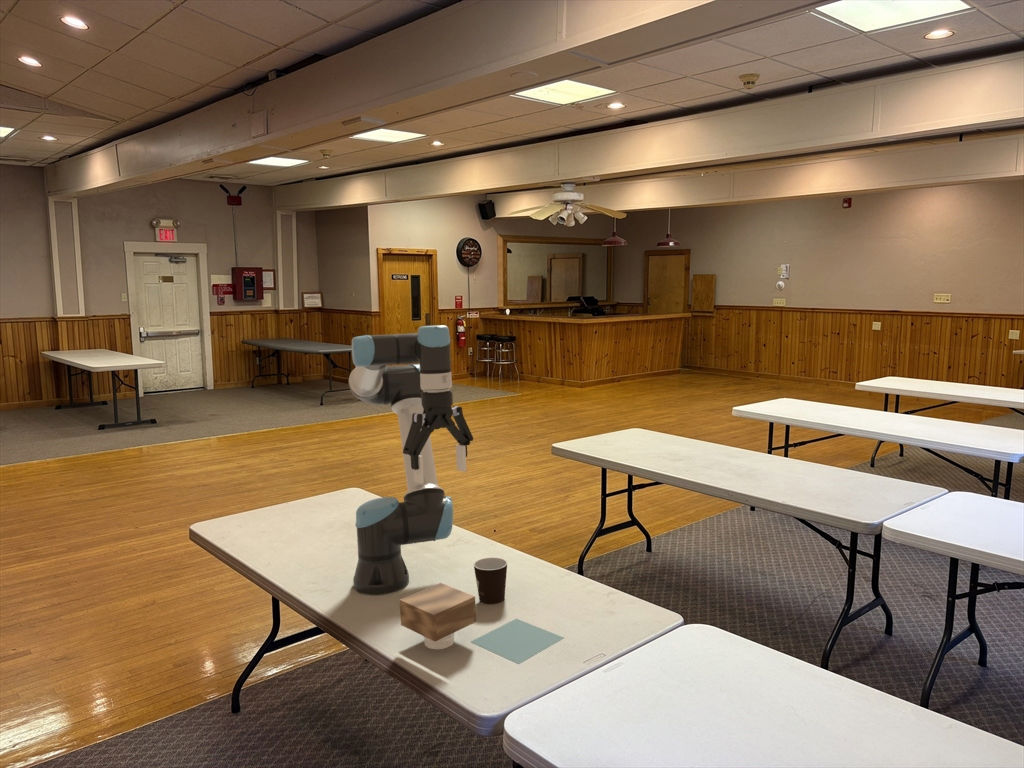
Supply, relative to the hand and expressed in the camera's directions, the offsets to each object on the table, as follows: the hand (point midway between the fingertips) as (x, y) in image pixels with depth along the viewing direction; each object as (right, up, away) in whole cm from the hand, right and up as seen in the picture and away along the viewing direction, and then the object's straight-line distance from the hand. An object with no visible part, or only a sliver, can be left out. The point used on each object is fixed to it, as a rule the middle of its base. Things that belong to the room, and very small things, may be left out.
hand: (441, 476), depth 171 cm
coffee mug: (+12, -33, +11) cm, 37 cm away
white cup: (+1, -37, -12) cm, 39 cm away
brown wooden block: (+1, -32, -13) cm, 34 cm away
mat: (+19, -36, -12) cm, 42 cm away
